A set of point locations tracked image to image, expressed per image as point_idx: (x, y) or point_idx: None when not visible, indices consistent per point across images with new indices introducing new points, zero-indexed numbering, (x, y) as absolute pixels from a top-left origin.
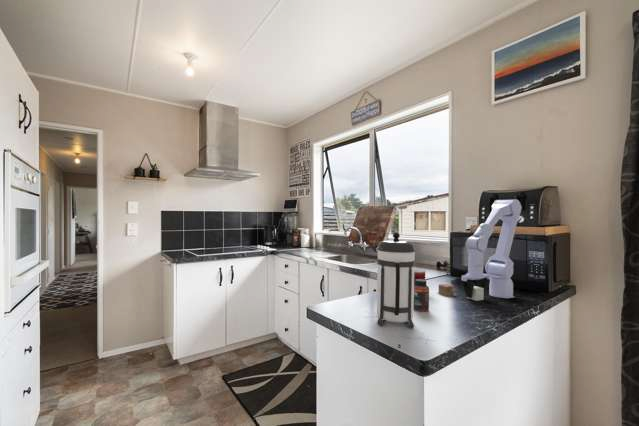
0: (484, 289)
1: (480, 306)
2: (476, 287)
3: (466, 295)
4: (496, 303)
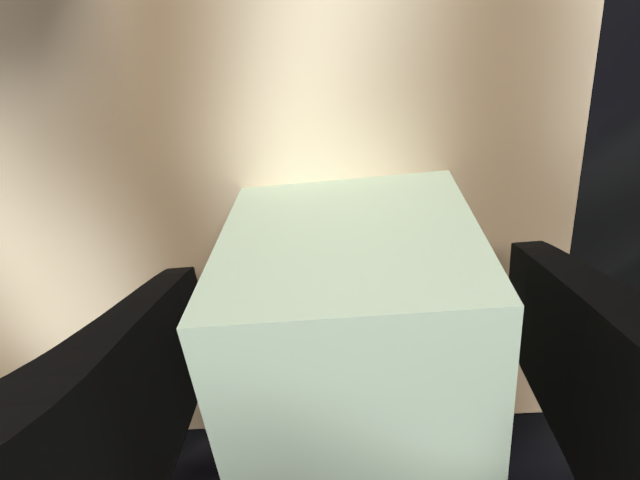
0: (576, 456)
1: (203, 448)
2: (393, 445)
3: (153, 282)
4: (537, 421)
